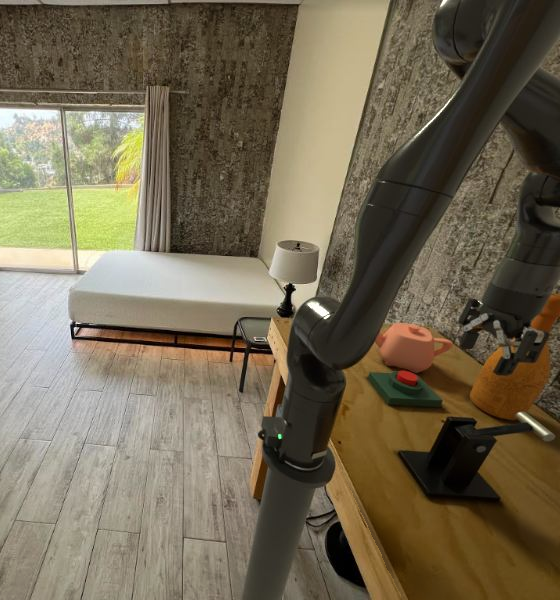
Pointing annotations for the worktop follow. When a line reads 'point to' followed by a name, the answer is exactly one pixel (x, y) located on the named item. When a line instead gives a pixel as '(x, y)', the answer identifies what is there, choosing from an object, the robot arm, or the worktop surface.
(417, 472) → the bracket
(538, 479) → the worktop surface
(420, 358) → the teapot
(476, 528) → the worktop surface
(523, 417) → the lever
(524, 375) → the wine bottle
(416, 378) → the button
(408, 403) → the button block
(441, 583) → the worktop surface
